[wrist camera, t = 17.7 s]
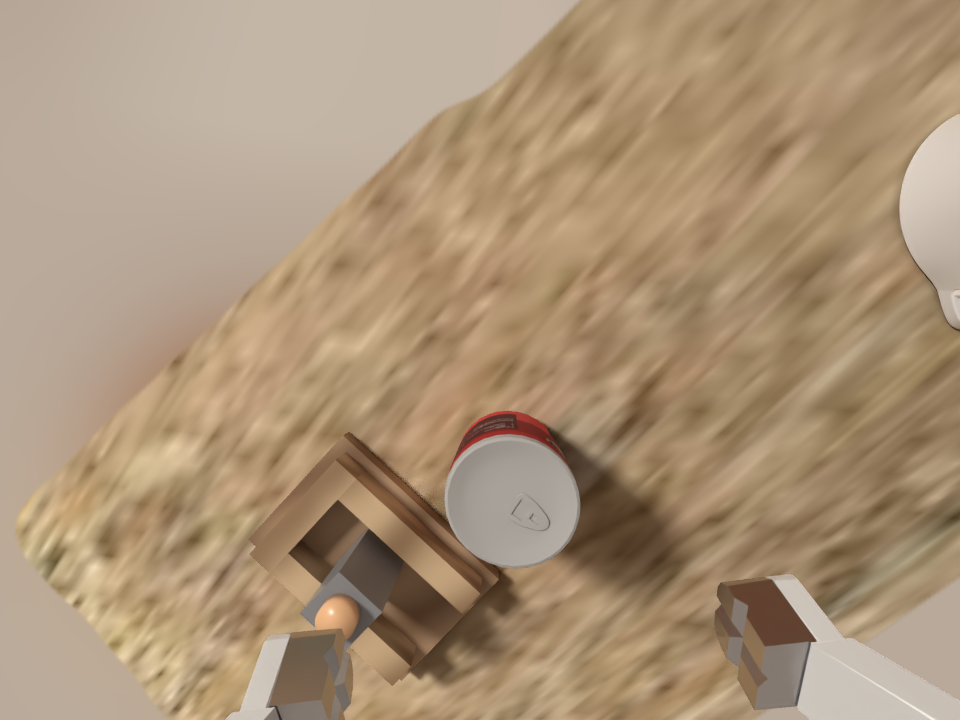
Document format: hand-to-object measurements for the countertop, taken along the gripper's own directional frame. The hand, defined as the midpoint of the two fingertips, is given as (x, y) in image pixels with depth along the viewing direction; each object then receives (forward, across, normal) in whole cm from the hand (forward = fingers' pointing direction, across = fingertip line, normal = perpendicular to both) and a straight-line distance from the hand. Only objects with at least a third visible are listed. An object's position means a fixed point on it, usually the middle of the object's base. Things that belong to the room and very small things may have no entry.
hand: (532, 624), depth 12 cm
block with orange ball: (+24, +10, +19) cm, 32 cm away
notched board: (+25, +10, +20) cm, 33 cm away
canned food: (+27, -1, +14) cm, 30 cm away
